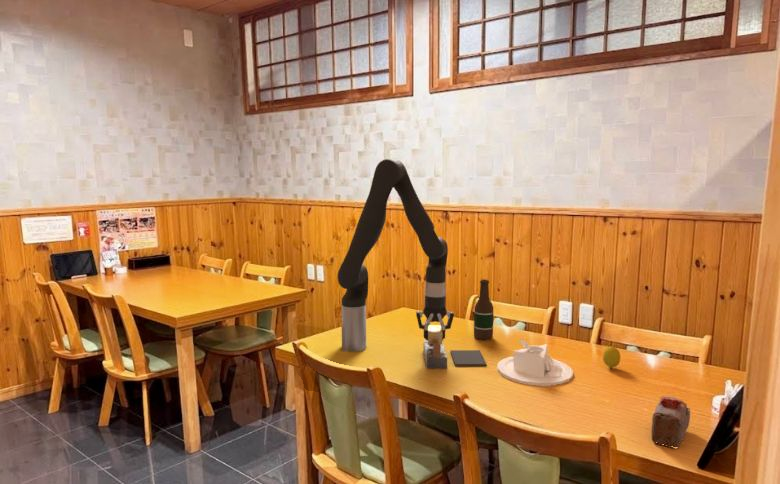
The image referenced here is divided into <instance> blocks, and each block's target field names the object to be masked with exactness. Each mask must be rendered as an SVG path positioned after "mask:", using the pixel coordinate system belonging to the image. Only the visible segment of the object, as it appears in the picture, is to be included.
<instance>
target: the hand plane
mask: <svg viewBox="0 0 780 484" xmlns="http://www.w3.org/2000/svg"><path fill="white" fill-rule="evenodd" d="M423 354H424V355H423V356H424V360H425V365H426V366H425V367H426V369H428V370H429V369H432V370H433V369H434V370H435V369H442V370H443V369H448V356H447V352H446V349H445V346H444V342H443V341H442V344H440V343H433V344H428V341H427V340H423Z"/></svg>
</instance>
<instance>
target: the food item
mask: <svg viewBox="0 0 780 484" xmlns="http://www.w3.org/2000/svg"><path fill="white" fill-rule="evenodd" d="M690 419H691V408H689V407H687V403H686V402H684V401H682V400H681V399H678V398H676V397H673V396H661V397H660V400H659V401H658V403H657V405H656V407H655V410H654V412H653V414H652V417H651V433H650V434H651V440H652V443H653V442H655V443H654V444H656V442H657V443H659V444H664V445H667V446H673V447H678V449H679V448H680V446H681V443H682V441H681V440H682V439H683V440H684V438H685V434H686V433H687V429H688V428H689V425H690ZM659 444H658V445H659ZM667 446H666V447H667Z"/></svg>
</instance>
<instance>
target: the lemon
mask: <svg viewBox="0 0 780 484" xmlns="http://www.w3.org/2000/svg"><path fill="white" fill-rule="evenodd" d="M602 361H603V363H604V364H605V366H607V367H608V368H609V369H613V368H616V367H618V365H620V362H621V353H620V351H619V349H618V348H617V347H615V346H614V345H610V346H608V347H607V348H605V349H604V351H603V354H602Z"/></svg>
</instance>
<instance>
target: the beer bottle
mask: <svg viewBox="0 0 780 484" xmlns="http://www.w3.org/2000/svg"><path fill="white" fill-rule="evenodd" d="M479 284H480V287H479V297H478V299H477V302H476V303H475V305H474V311H473V313H474V314H473V316H474V317H473V337H474V338H475V339H476V340H479V341H480V340H481V341H490V340H492V338H493V336H494V305H493V302H492V301H491V299H490V290H489V289H490V288H489V285H490V281H489V279H480V280H479Z"/></svg>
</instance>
